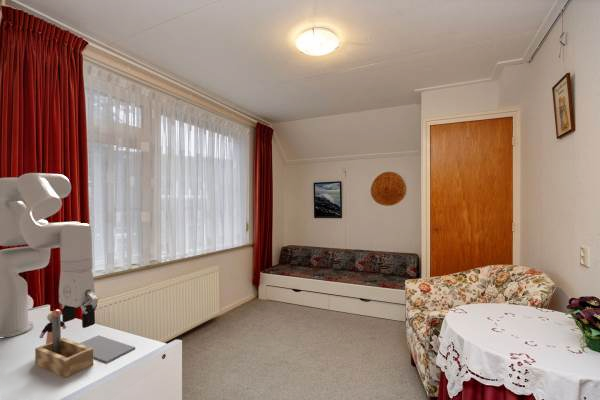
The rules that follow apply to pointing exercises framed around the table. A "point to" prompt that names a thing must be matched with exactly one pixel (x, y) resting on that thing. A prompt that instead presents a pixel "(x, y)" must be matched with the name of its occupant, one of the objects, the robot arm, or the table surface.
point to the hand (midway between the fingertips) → (78, 323)
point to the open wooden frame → (64, 358)
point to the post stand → (56, 331)
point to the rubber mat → (107, 348)
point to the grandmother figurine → (50, 329)
